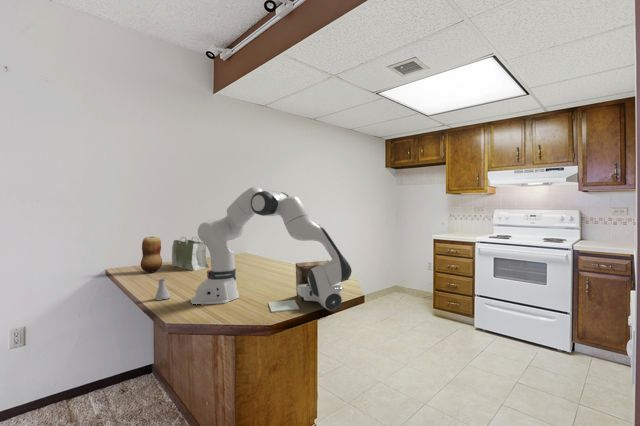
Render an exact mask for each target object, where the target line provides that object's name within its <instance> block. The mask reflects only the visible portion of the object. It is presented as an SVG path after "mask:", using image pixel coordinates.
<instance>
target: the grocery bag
mask: <svg viewBox="0 0 640 426" xmlns="http://www.w3.org/2000/svg"><path fill="white" fill-rule="evenodd" d="M193 239H197V240H198V241H194V240H193ZM171 260H172V261H171V264H172V265H173V266H172V267H174V266H178V267H177V268H179V267H181V268H180V269H182V268H184V269H183V270H186V269H187V271H191V270H192V272H195V271H194V270H196V271H200V270H205V269H210V267H209V264H208V262H207V246H206V244H205V243H204V242H202V241H201V240H200V239H199V237H197V236H192V237H191V239H188V238H187V237H186V236H182V237H180V239H173V242H172V246H171Z"/></svg>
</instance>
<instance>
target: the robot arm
mask: <svg viewBox="0 0 640 426" xmlns="http://www.w3.org/2000/svg"><path fill="white" fill-rule="evenodd" d="M255 215H259V216H265V217H266V216H267V217H276V216H280V217H281V218H282V221H283V223H284V226H285V229H286V231H287V232H288V234H289V236H290V237H291V238H292V239H295V240H297V241H301V242H302V241H304V242H305V241H315V242H319V243H321V244H322V245H323V247H324V248H325V250H326V251H327V253H328V254H329V257H330V258H331V260H329V262H327V263H324V264H322V265H319V266H317V267H315V268H312V269H310V270H309V272H308V276H307V281H308V284H299V285H297V290H296V293H297V292H298V294H299V295H300V296H301V297H303V301H307V302H308V301H310V302H317V303H319V304H320V305H321V306H322V307H323V308H324V309H325V310H327V311H335V310H337V309H338V308H339V307H340V306H341V305H342V303H343V298H342V295H341V294H340V292H341V291H342V290H344V289H345V286H343V285H342V284H341V283H343V282H346V281H348V280H349V279H350V277H351V275H352V271H353V270H352V267H351V264H350V263H349V262H348V260H347V259H346V258H345V256H344V255H343V254H342V252H341V251H340V249H339V248H338V246H336V243H335V242H334V241H333V239H332V238H331V236H330V235H329V234H328V232H327V231H326V229H325V227H323V226H322V225H321V224H317V223H315V222H314V221H313V220H312V219H311V217H310V215H309V213H308V211H307V209H306V207H305V205H304V204H303V202H302V201H301V199H300V198H299V197H298V196H295V195H289V194H287V193H286V192H281V191H274V190H269V191H268V190H267V191H266V190H263V189H262V188H261V187H259V186H254V185H253V186H250V187H249V188H247V189H246V190H245V191H244V192H242V193H241V194H240V195H238V196H237V198H236V199H235V200H234V201H233V202H232V203H231V204H230V205H229V206H228V207H227V209H226V216H225V217H223V218H221V219H220V218H218V219H211V220H207V221H204V222H202V223H200V225H198V228H197V236H198V237H197V238H198V239H199V240H200V242H202V243H205V244H206V248H207V249H208V252H209V257H210V266H211V269H208V270H207V271H206V275H207V277H206V278H207V279H205V280H204V281H203V282H202V283H201V284H200V285H198V287H197V288H196V290H195V295H194V296H193V297H192V298H191V299H190V304H191V303H192V304H191V305H193V304H196V305H195V306H197V304H201V305H217V304H218V305H219V304H226V303H228V302H230V301H235V300H236V299H239V298H240V293H239V291H238V287H237V281H236V280H237V270H236V265H235V264H236V263H235V253H234V251H233V250H231V249H230V248H229V246H228V243H227V242H229V241H233V240H235V239H237V238H239V237H241V236H242V235H243V233H244V227H245V225H246V224H247V222H249V221H250V220H251V219H252V217H254V216H255Z"/></svg>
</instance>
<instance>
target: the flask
mask: <svg viewBox="0 0 640 426" xmlns="http://www.w3.org/2000/svg"><path fill="white" fill-rule="evenodd" d="M157 281H158V287H157V292H156V294H155V298H154V300H155V299H156V300H158V301H163V300H162V299H166V300H168V299H167V298H169V299H170V298H171V295H170V292H169V290H168V287H167V286H166V278H163V277H162V278H158V279H157ZM156 300H155V301H156Z"/></svg>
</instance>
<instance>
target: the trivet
mask: <svg viewBox="0 0 640 426" xmlns="http://www.w3.org/2000/svg"><path fill="white" fill-rule="evenodd" d="M268 305H269V309H270V313H271V314H272V313H280V312H287V311H296V310H300V307H299V305H298V303H297V301H296V300H295V299H289V300H280V301H272V302H271V301H270V302H268Z"/></svg>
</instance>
